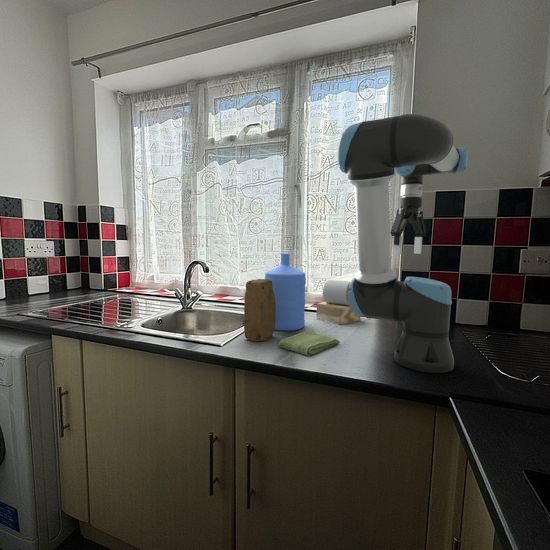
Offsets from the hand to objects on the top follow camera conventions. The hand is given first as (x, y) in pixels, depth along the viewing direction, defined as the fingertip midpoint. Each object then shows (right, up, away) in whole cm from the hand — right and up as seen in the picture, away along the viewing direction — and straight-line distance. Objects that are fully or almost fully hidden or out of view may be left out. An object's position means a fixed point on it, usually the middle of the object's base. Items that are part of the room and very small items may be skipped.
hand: (407, 253), depth 127 cm
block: (-56, -30, -14) cm, 65 cm away
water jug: (-47, -28, +2) cm, 55 cm away
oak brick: (-24, -27, +15) cm, 39 cm away
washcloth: (-40, -31, -21) cm, 55 cm away
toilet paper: (-24, -21, +14) cm, 34 cm away
